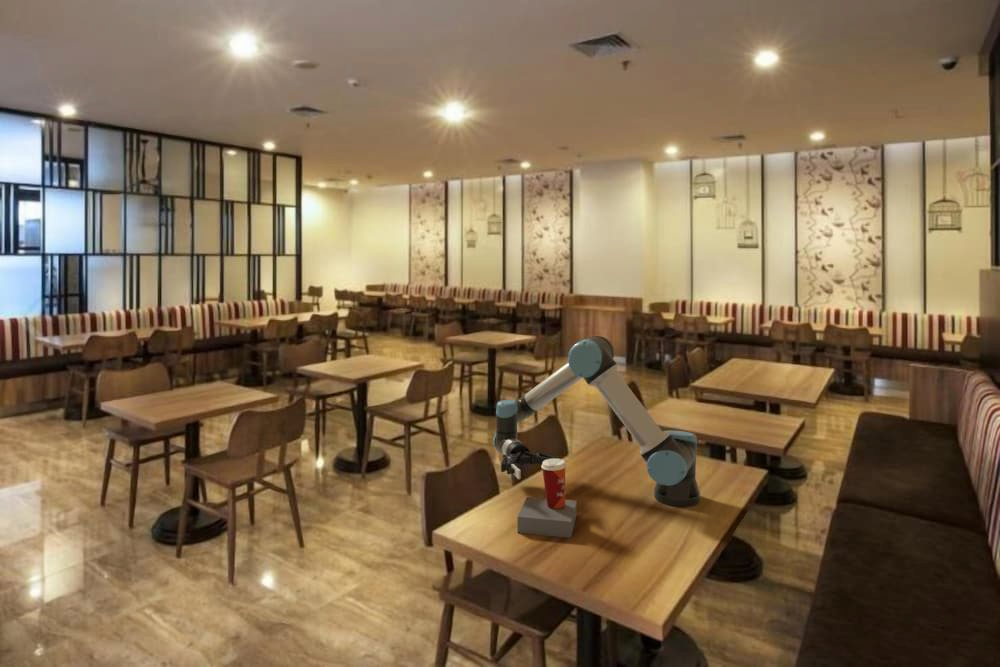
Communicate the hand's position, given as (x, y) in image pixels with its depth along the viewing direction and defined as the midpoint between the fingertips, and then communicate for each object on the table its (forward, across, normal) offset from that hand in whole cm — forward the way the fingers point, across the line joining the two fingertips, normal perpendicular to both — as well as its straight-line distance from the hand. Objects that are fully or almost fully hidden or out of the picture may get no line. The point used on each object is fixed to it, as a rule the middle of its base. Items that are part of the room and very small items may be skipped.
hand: (539, 472), depth 198 cm
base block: (+6, 0, -14) cm, 16 cm away
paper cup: (+5, -3, -9) cm, 11 cm away
